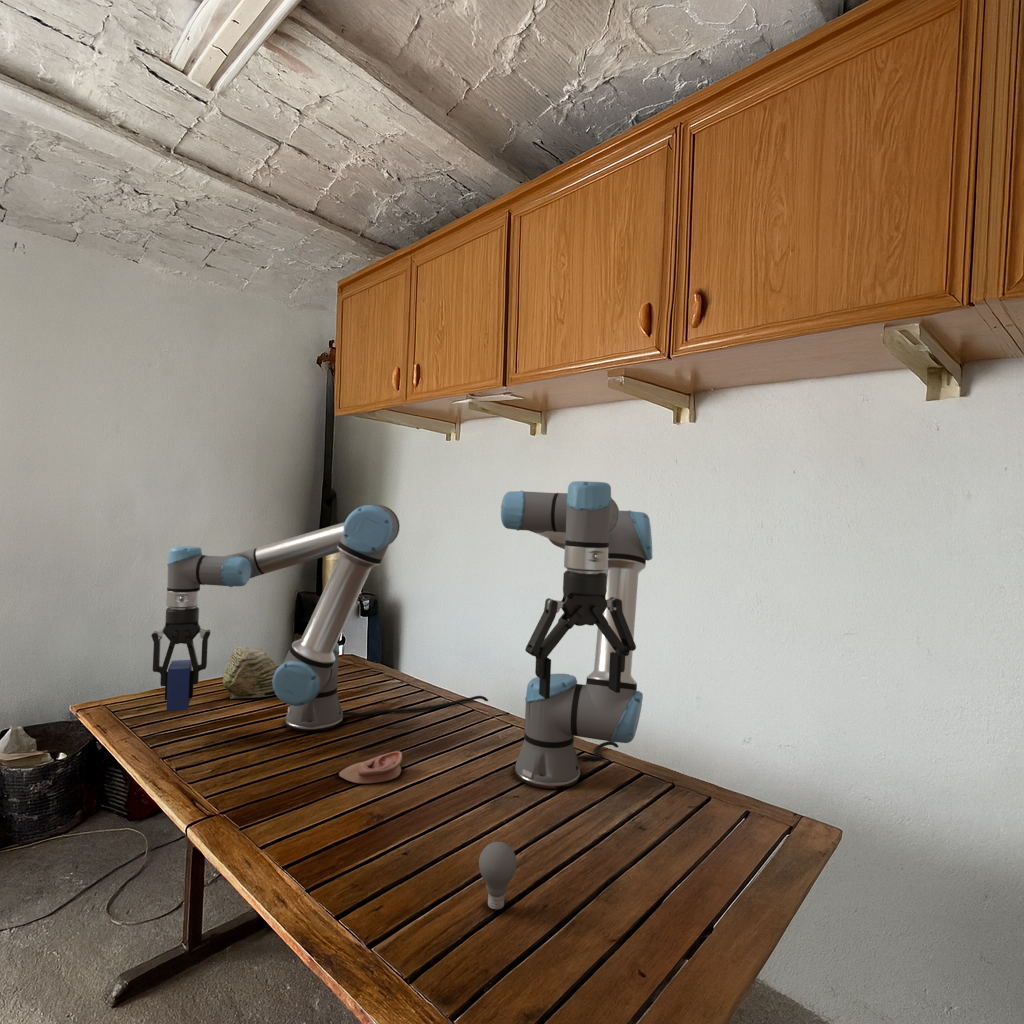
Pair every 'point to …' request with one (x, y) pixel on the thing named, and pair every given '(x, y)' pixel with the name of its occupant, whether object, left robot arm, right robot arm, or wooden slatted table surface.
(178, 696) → the block
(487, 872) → the light bulb
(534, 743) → the right robot arm
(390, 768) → the anatomical model
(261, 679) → the fossil
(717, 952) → the wooden slatted table surface
